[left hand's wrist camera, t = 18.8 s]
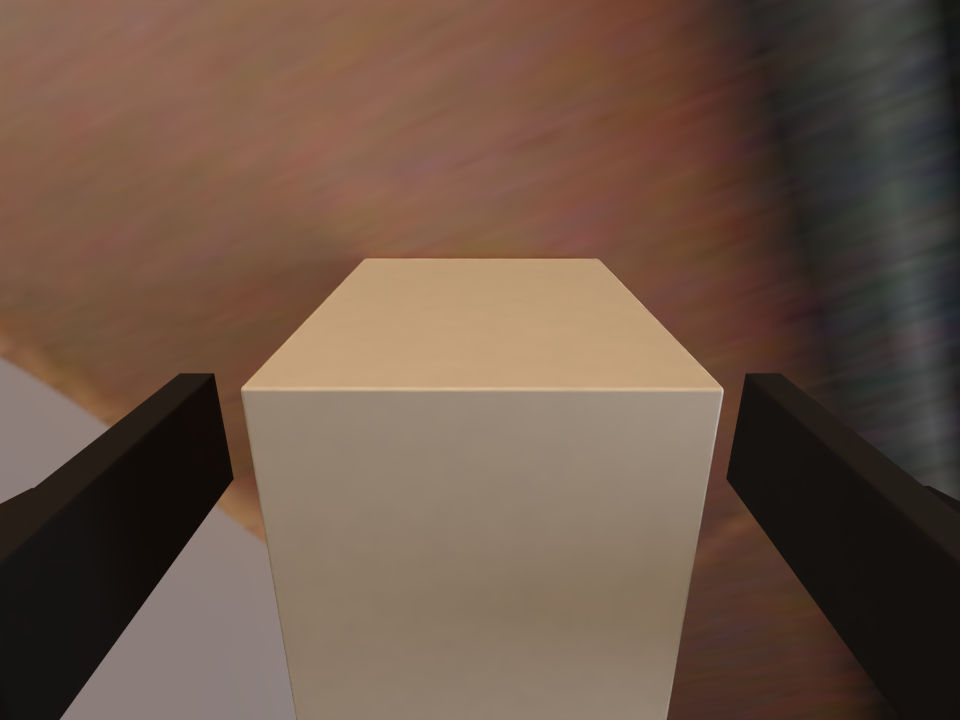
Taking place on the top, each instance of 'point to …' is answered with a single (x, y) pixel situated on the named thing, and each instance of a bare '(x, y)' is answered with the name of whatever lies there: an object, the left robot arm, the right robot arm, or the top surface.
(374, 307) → the block
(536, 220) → the top surface
